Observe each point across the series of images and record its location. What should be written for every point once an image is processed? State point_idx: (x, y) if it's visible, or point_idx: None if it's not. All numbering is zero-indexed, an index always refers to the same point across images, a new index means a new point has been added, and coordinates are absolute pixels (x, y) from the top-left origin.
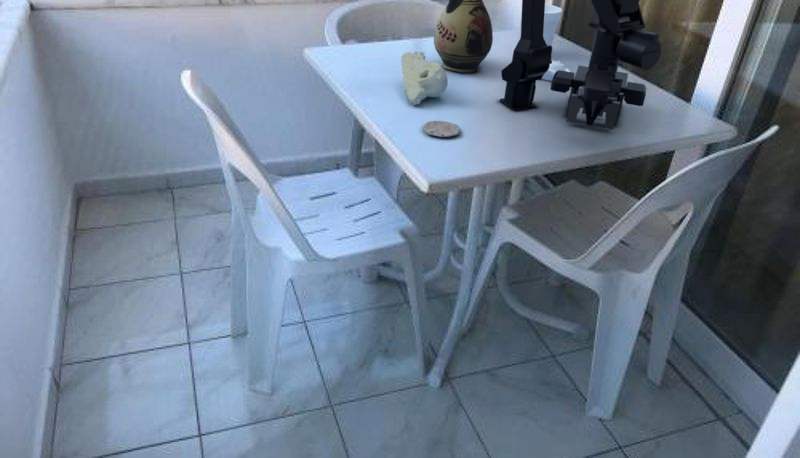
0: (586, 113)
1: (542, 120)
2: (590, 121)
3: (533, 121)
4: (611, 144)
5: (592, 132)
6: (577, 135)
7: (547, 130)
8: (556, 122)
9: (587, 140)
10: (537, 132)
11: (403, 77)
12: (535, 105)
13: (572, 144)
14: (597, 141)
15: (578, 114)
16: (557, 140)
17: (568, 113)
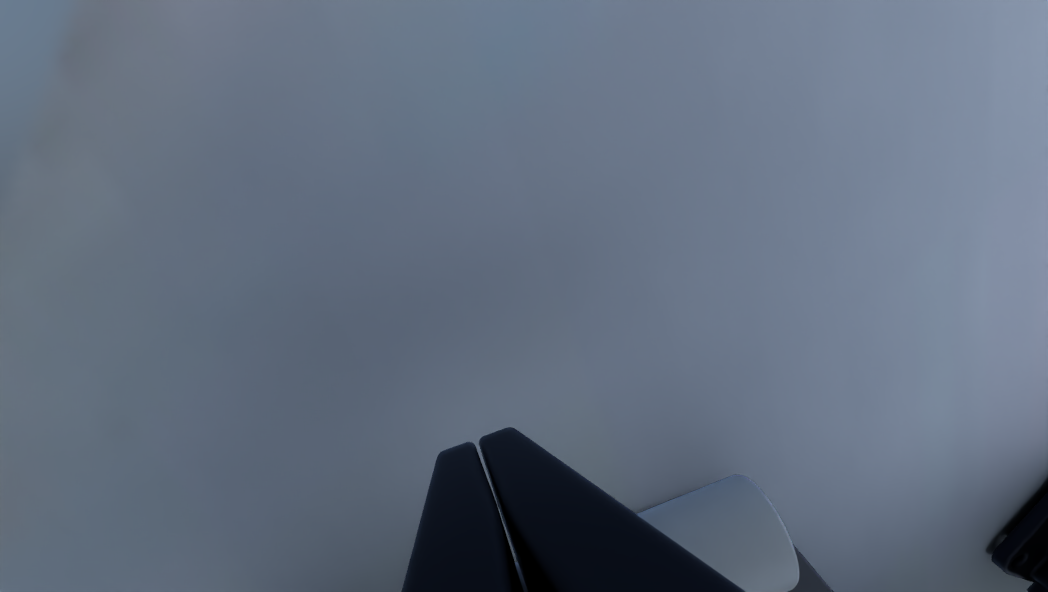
0: (697, 578)
1: (931, 405)
2: (489, 501)
3: (1006, 327)
4: (91, 459)
5: None
6: (562, 368)
7: (877, 241)
8: (814, 462)
9: (411, 336)
10: (974, 110)
11: None
12: (1008, 560)
13: (534, 72)
14: (292, 402)
15: (775, 546)
16: (741, 54)
17: (819, 581)
